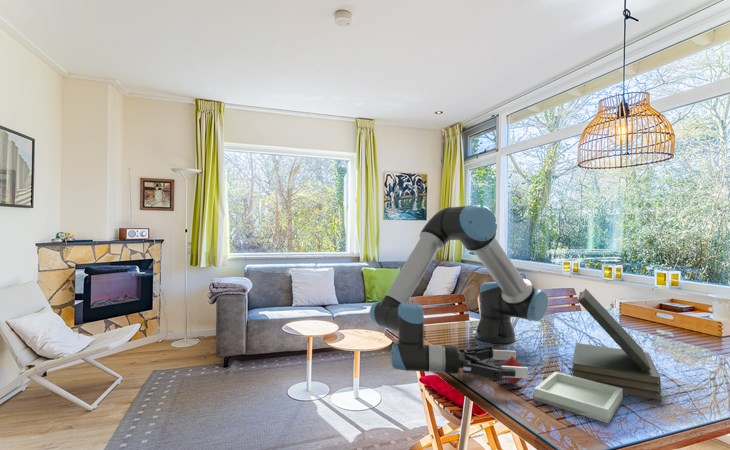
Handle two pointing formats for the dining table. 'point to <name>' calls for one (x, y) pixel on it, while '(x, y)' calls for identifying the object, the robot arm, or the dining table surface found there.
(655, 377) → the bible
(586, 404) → the tray
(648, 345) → the dining table surface
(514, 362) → the onion
